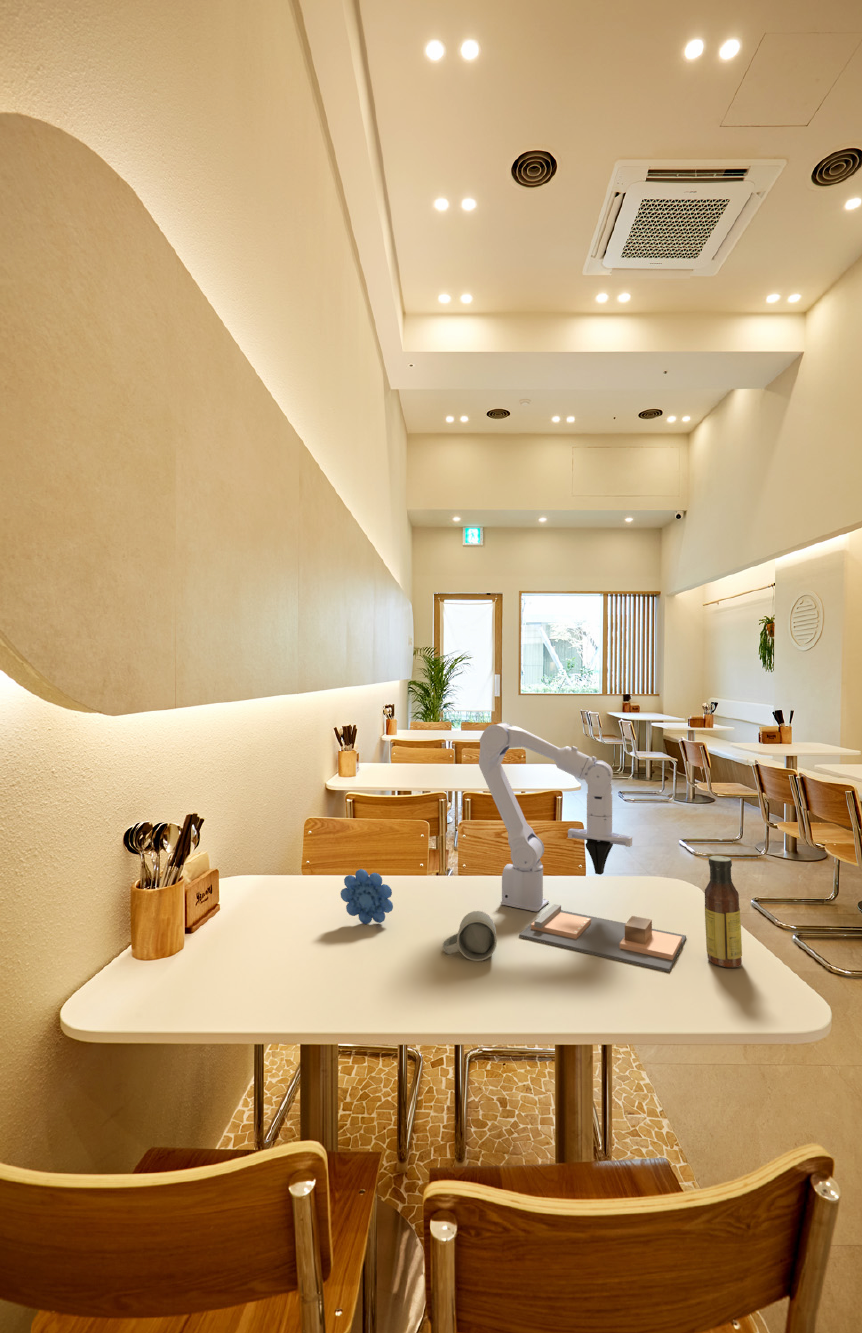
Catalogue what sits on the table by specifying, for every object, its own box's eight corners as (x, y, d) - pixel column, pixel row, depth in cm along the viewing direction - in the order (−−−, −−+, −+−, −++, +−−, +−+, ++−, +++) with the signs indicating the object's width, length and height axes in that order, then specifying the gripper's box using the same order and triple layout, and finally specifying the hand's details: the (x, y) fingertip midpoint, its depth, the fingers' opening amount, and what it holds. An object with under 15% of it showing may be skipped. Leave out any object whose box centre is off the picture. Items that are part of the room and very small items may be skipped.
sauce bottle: (739, 957, 123) (739, 855, 123) (744, 971, 117) (743, 864, 117) (703, 952, 125) (702, 852, 125) (706, 966, 119) (705, 860, 119)
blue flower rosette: (337, 931, 134) (337, 875, 135) (341, 919, 141) (342, 866, 141) (392, 931, 135) (392, 875, 135) (393, 919, 141) (393, 866, 142)
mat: (519, 937, 132) (519, 934, 132) (549, 910, 147) (549, 907, 147) (669, 972, 116) (669, 969, 116) (686, 938, 132) (686, 935, 132)
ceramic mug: (495, 944, 128) (495, 906, 129) (497, 962, 120) (496, 921, 120) (443, 943, 129) (443, 905, 129) (441, 961, 121) (441, 920, 121)
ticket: (529, 930, 134) (529, 920, 134) (549, 912, 144) (549, 903, 144) (574, 940, 129) (574, 929, 129) (592, 921, 139) (592, 911, 139)
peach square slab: (619, 948, 125) (619, 928, 125) (632, 931, 134) (632, 912, 134) (672, 960, 120) (672, 938, 120) (682, 941, 128) (681, 921, 128)
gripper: (635, 814, 145) (635, 874, 145) (575, 807, 153) (575, 863, 153) (627, 820, 139) (627, 882, 139) (564, 812, 147) (564, 871, 147)
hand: (599, 873), depth 145 cm, fingers closed
